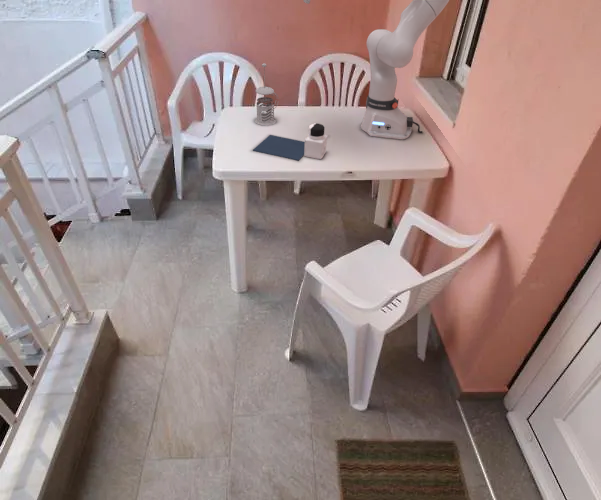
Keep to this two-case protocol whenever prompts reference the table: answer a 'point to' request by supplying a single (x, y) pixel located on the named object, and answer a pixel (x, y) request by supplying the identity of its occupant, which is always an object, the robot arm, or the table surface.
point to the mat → (282, 147)
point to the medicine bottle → (315, 142)
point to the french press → (261, 116)
